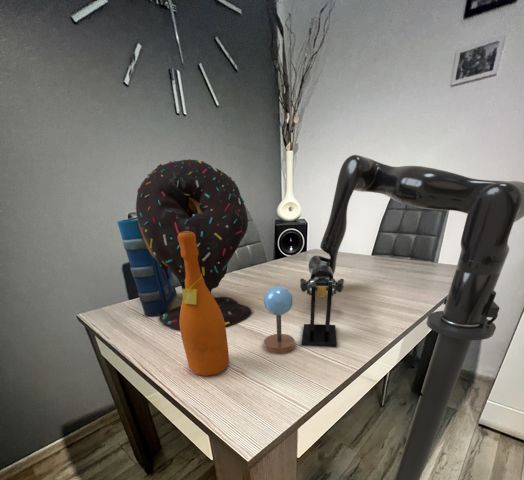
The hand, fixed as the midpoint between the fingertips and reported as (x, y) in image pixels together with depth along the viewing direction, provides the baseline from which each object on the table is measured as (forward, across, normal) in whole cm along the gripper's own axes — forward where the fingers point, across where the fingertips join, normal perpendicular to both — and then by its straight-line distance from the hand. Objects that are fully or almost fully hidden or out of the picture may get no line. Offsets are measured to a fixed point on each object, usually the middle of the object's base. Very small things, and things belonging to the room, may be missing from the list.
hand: (321, 292), depth 78 cm
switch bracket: (+9, 0, +10) cm, 13 cm away
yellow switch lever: (+4, 0, -1) cm, 4 cm away
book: (-12, -59, +10) cm, 61 cm away
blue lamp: (+15, -10, +10) cm, 21 cm away
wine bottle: (+27, -26, +10) cm, 38 cm away
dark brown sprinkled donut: (-6, -39, +10) cm, 40 cm away
